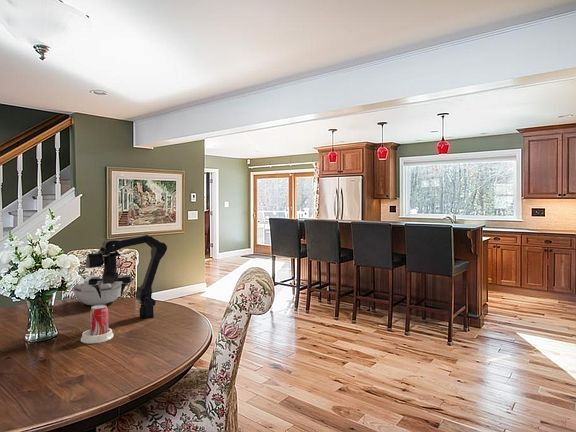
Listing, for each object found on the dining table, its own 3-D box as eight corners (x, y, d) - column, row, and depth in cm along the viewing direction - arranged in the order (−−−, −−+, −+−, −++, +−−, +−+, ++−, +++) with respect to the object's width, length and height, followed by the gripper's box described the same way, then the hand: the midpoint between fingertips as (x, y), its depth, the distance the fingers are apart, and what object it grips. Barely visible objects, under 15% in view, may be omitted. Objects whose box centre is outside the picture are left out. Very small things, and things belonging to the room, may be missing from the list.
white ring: (115, 332, 184) (115, 326, 184) (111, 341, 172) (111, 335, 172) (84, 334, 181) (84, 328, 181) (77, 344, 168) (77, 338, 168)
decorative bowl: (72, 300, 243) (71, 275, 242) (125, 295, 253) (124, 272, 253) (63, 313, 215) (62, 285, 214) (123, 307, 225) (123, 281, 224)
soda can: (109, 331, 182) (108, 303, 181) (107, 337, 175) (107, 307, 175) (91, 333, 180) (91, 305, 179) (89, 339, 173) (89, 309, 172)
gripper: (85, 269, 185) (86, 303, 186) (128, 267, 190) (129, 300, 191) (90, 265, 196) (91, 297, 196) (131, 263, 201) (132, 294, 201)
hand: (111, 297), depth 196 cm, fingers open, 9 cm apart
